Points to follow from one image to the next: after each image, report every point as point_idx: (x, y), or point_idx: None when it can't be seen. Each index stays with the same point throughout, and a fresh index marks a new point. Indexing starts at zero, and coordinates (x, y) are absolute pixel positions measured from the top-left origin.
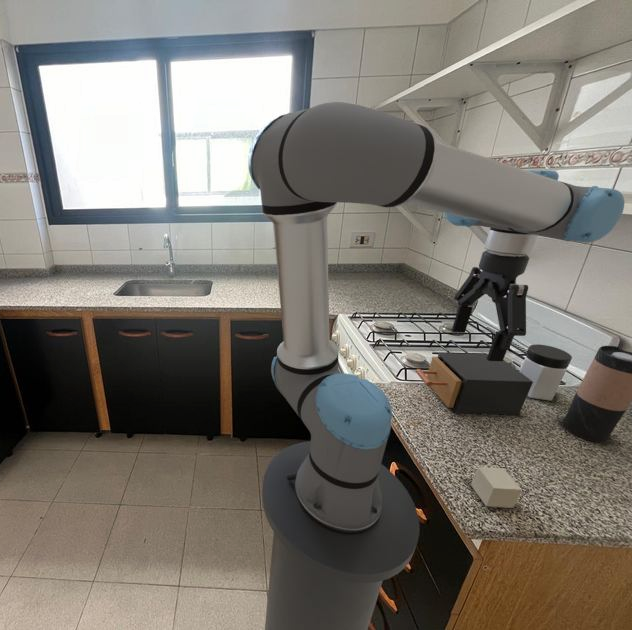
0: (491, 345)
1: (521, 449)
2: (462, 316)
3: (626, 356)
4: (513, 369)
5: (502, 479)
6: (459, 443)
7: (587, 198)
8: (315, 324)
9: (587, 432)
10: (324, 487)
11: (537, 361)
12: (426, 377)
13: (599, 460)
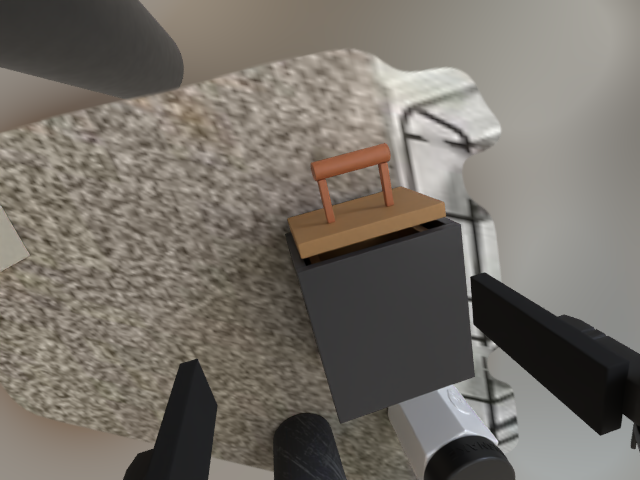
0: (180, 420)
1: (193, 330)
2: (541, 348)
3: None
4: (395, 397)
5: None
6: (155, 215)
7: None
8: None
9: (276, 443)
10: None
11: (444, 452)
12: (339, 166)
13: (218, 433)
